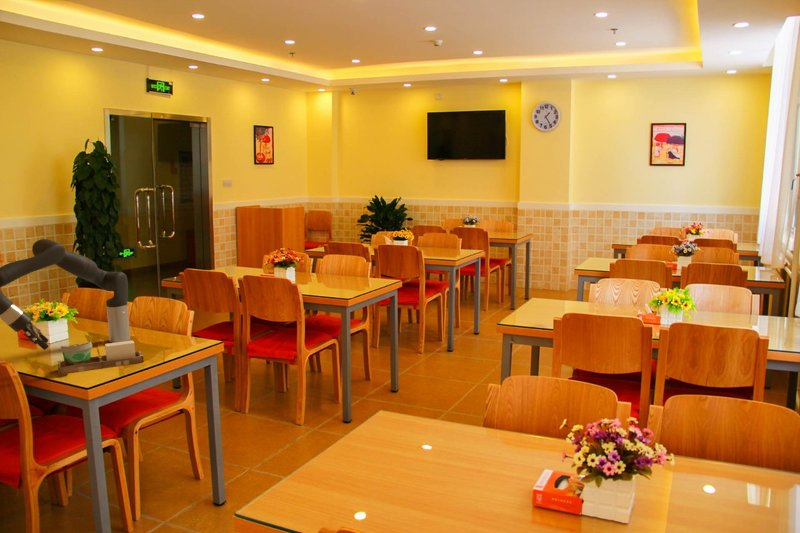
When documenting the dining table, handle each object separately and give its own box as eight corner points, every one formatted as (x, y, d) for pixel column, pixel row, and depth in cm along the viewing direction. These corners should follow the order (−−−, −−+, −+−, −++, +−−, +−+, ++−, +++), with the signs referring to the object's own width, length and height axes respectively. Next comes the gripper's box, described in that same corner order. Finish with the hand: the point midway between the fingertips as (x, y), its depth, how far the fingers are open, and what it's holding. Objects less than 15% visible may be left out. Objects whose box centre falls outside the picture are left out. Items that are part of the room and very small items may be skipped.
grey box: (106, 362, 287) (105, 343, 286) (134, 358, 292) (133, 340, 291) (107, 365, 283) (105, 346, 282) (135, 361, 288) (134, 342, 286)
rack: (58, 369, 282) (57, 361, 281) (140, 358, 296) (140, 350, 295) (58, 376, 272) (57, 368, 272) (143, 364, 286) (143, 356, 286)
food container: (67, 373, 273) (65, 348, 272) (62, 370, 278) (59, 346, 276) (99, 366, 282) (97, 342, 281) (93, 363, 286) (90, 340, 285)
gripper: (22, 315, 263) (54, 343, 270) (23, 306, 275) (54, 333, 282) (6, 328, 261) (39, 356, 268) (7, 319, 273) (39, 346, 281)
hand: (46, 345), depth 275 cm, fingers open, 8 cm apart
